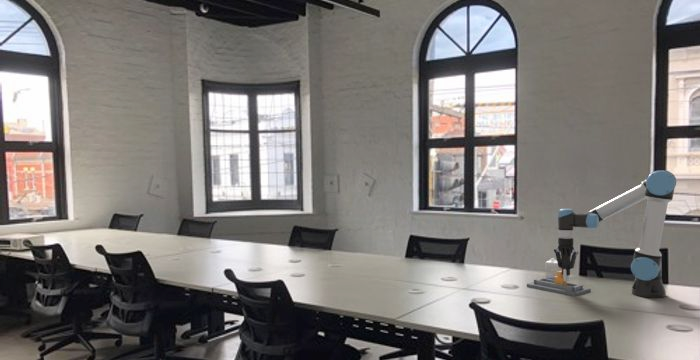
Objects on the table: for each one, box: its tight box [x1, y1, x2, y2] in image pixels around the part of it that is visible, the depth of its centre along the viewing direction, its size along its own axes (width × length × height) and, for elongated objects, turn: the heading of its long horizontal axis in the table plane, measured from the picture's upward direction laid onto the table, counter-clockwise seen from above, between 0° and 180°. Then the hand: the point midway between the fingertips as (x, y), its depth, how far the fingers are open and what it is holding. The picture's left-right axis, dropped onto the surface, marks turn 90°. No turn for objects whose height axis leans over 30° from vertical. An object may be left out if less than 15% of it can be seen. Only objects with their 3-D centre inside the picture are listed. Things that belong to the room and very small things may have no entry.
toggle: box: [554, 271, 568, 285], centre depth 269 cm, size 5×4×8 cm
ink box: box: [544, 257, 562, 280], centre depth 288 cm, size 9×8×13 cm
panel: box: [526, 277, 592, 297], centre depth 270 cm, size 28×16×4 cm, turn 36°
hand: (565, 281), depth 266 cm, fingers closed
